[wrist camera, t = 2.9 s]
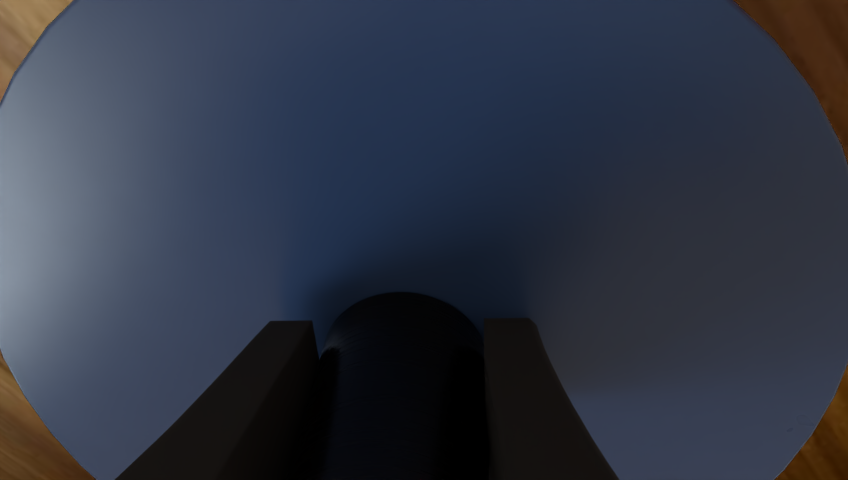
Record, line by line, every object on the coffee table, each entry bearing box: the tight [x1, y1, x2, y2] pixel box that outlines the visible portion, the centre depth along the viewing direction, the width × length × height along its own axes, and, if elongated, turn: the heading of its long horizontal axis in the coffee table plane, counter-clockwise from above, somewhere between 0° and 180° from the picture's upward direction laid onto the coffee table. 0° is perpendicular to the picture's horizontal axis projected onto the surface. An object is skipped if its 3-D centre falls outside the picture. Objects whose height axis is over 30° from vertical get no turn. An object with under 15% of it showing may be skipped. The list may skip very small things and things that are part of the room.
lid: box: [0, 0, 848, 480], centre depth 10 cm, size 13×13×5 cm
